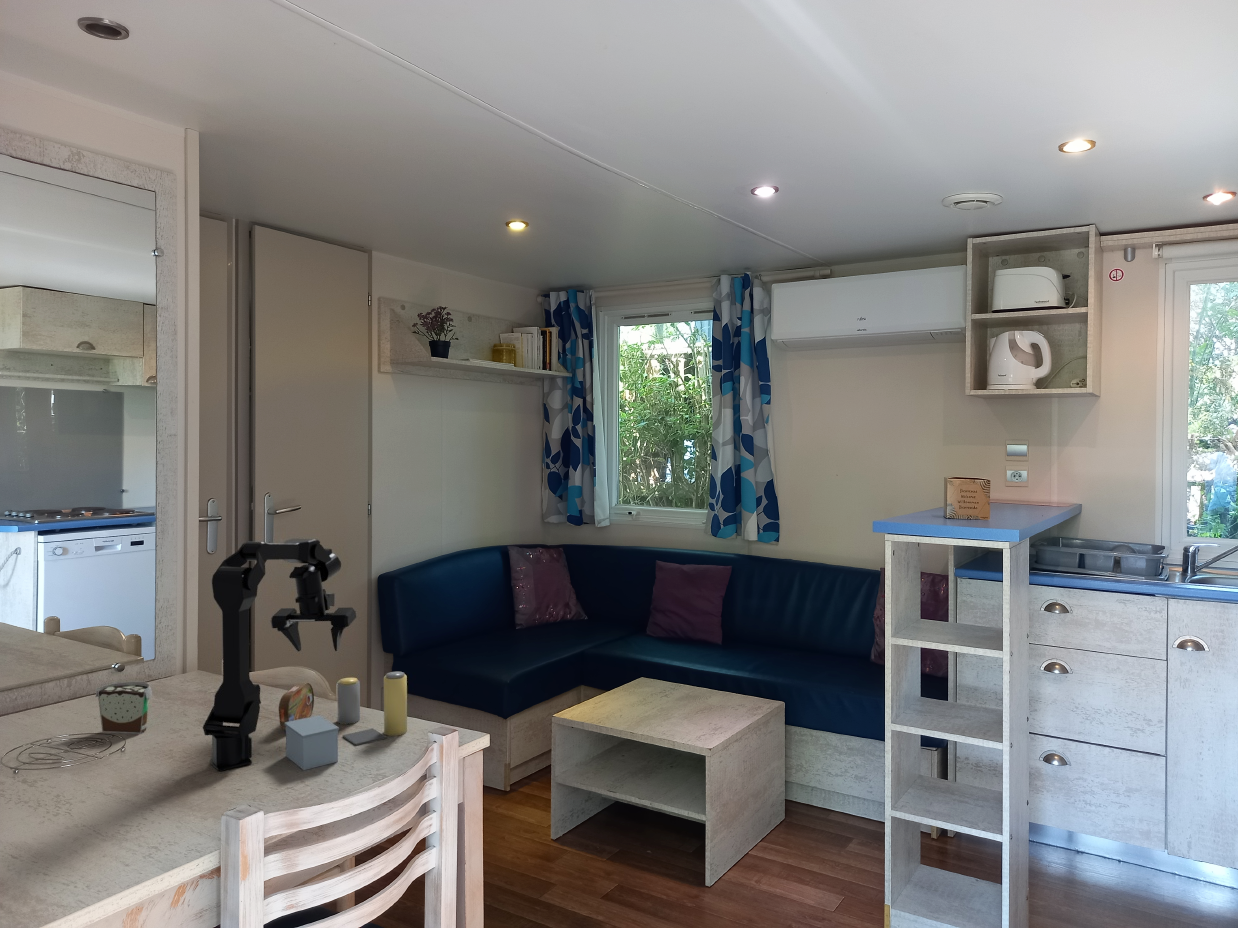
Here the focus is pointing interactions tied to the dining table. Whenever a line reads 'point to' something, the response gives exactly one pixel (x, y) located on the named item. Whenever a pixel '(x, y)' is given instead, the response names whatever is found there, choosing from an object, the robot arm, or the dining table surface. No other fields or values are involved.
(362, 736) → the pad
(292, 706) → the tin
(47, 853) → the dining table surface
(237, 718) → the robot arm
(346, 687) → the cylinder
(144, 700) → the food container
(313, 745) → the block
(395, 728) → the cylinder
